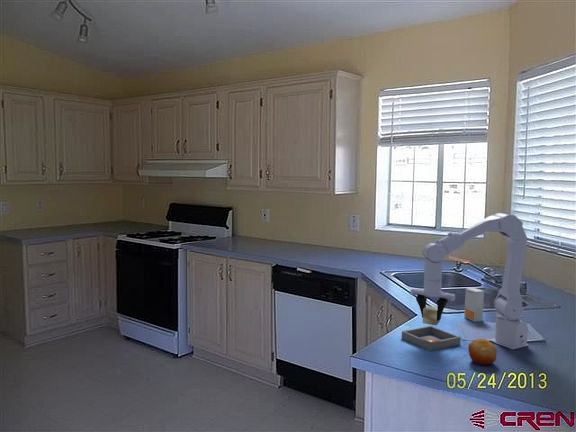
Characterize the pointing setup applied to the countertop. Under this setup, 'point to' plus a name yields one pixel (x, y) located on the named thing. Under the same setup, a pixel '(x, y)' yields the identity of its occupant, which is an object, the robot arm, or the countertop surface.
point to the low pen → (412, 337)
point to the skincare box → (474, 304)
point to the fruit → (482, 352)
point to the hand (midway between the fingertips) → (431, 318)
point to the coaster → (430, 339)
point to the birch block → (430, 315)
